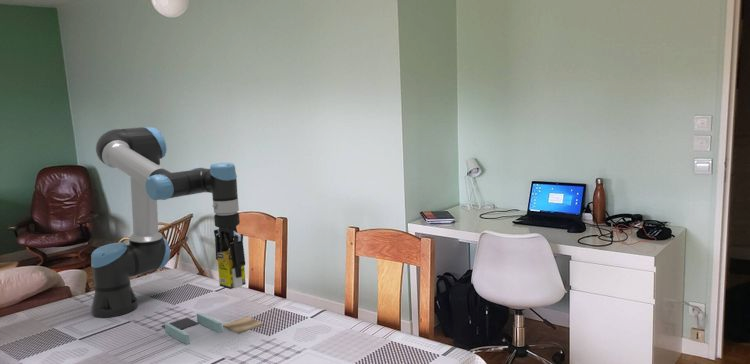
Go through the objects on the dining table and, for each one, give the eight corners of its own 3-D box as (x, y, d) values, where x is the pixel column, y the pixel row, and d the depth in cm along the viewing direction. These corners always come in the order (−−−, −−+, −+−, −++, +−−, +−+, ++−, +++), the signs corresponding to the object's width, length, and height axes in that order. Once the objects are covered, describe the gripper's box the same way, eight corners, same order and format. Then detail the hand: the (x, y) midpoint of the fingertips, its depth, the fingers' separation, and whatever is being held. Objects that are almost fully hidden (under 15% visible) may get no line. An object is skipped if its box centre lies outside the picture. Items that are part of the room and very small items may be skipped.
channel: (165, 332, 176) (164, 323, 176) (200, 321, 185) (199, 312, 184) (186, 344, 167) (186, 335, 166) (222, 331, 175) (221, 322, 175)
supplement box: (230, 289, 170) (227, 255, 169) (219, 286, 174) (216, 252, 173) (246, 284, 175) (243, 250, 173) (234, 281, 179) (232, 248, 177)
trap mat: (161, 326, 182) (161, 325, 181) (187, 318, 188) (186, 317, 188) (172, 332, 176) (172, 332, 176) (198, 324, 182) (198, 323, 182)
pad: (223, 326, 179) (223, 324, 179) (247, 318, 186) (246, 316, 186) (238, 333, 173) (238, 331, 173) (262, 324, 180) (262, 322, 180)
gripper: (200, 211, 175) (206, 281, 179) (231, 218, 162) (237, 294, 165) (221, 207, 181) (227, 275, 184) (253, 214, 167) (259, 288, 170)
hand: (232, 284), depth 175 cm, fingers closed on supplement box, 6 cm apart
